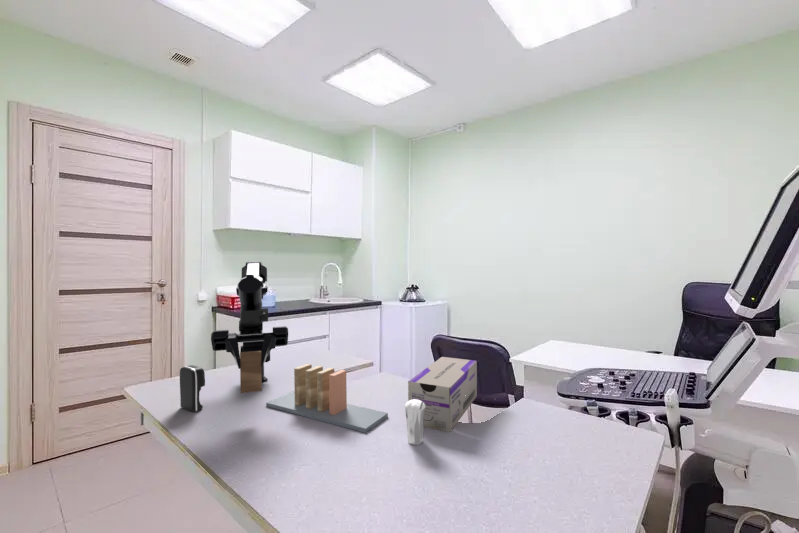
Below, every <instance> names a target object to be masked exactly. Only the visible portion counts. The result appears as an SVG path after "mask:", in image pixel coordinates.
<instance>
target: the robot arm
mask: <svg viewBox="0 0 799 533" xmlns="http://www.w3.org/2000/svg"><path fill="white" fill-rule="evenodd" d="M267 282H268V269H267V267H266V266H264V265H263V263H262V261H260V260H258V261H255V260H254V261H253V260H248V261H246V262H245V265H244V266H243V267H242V268H241V279H240V281H238V284H237V285H236V289H235V290H236V295H237V297H239V298H238V300H239V303H240V308H239V309H240V310H239V311H240V312H239V313H240V316H239V321H238V332H239V333H235V332H229V331H230V330H229V329H222V330H221V329H220V330H219V329H217V330H213V331H212V332H211V334H210V342H211V348H212V351H214V352H218V351H219V352H220V351H226V353H230V354H231V355H232V357H233V359H234V360H235V363H236V365H237V368H238V369H240V352H249V351H261V367H262V382H267V381H268V378H267V377H266V376H265V363H269V362H270V361H271V350H272V349H273V350H275V349H276V347H282V346H283V347H284V346H287V345H288V344H289V342H288V341H289V328H288V327H287V326H286V325H285V326H284V325H283V326H273V327H272V332H263V327H264V325H263V324H264V323H265V322H269V308H268V307H267V308H265V307H264V308H263V301H262V300H263V299H264V296H266V295H267V293H268V291H269V289H268V286H267V284H266V283H267ZM239 343H240V344H241V343H242V345H240V350H239Z"/></svg>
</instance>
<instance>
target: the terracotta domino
mask: <svg viewBox="0 0 799 533" xmlns="http://www.w3.org/2000/svg"><path fill="white" fill-rule="evenodd" d="M347 395H348V394H347V370H346V369H345V370H344V369H339V370H338V371H334V373H333V374H330V375H329V401H330V414H332V415H336V414H337V413H339V412H341V411H343V410H344V409H346V408H347V404H348V403H347V399H348V397H347Z"/></svg>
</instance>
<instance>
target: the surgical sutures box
mask: <svg viewBox="0 0 799 533" xmlns="http://www.w3.org/2000/svg"><path fill="white" fill-rule="evenodd" d="M477 364H478V363H477V360H474V359H466V358H465V359H463V358H457V357H446V356H441V357H440V358H438V359H437V360H435V361H434V362H433V363H431V364H430V365H429V366H427V367H426V368H425V369H423V370H422V371H420V372H418V374H416V375H414V377H412V378H410V379H409V380H408V381H407V384H408V385H407V387H408V388H407V397H408V398H407V399H408V400H407V402H408V401H409V400H412V399H418V400H421V401H423V403H424V404H425V417H424V427H423V428H428V429H434V430H439V431H443V432H448V433H451V432H452V430H453V429H454V427H455V426H456V425H457V424H458V422H459V421H460V420H461V419H462V417H463V416H464V414H465V413H466V412H467V410H468V409H469V407H470V406H471V405H472V403H473V402H474V401H475V400H476V398H477V396H478V394H477V393H478V392H477V391H478V387H477V386H478V385H477V384H478V376H477V374H478V371H477V370H478V369H477V368H478V366H477ZM465 395H466V396H465Z"/></svg>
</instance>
